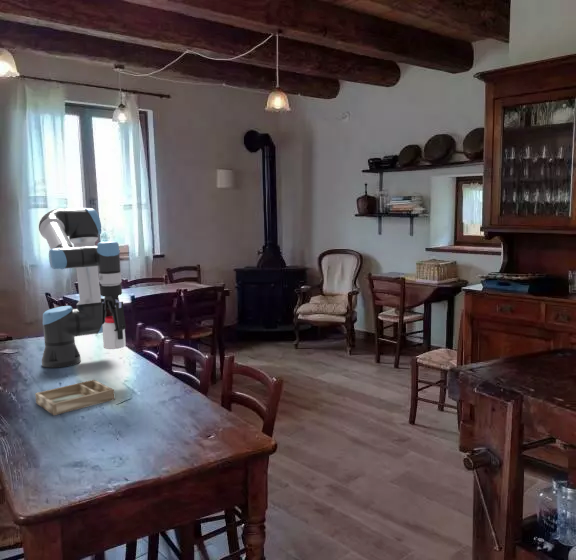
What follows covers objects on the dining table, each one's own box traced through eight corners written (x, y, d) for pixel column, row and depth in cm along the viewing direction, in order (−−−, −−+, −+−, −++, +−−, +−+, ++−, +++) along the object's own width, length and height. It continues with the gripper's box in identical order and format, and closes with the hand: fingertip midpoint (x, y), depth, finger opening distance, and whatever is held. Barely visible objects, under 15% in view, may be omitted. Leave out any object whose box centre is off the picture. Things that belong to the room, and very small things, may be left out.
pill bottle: (99, 347, 207) (97, 318, 205) (114, 342, 214) (112, 314, 212) (114, 350, 203) (112, 320, 202) (130, 345, 210) (128, 315, 208)
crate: (36, 403, 188) (35, 393, 187) (94, 389, 201) (93, 379, 200) (53, 415, 176) (52, 404, 175) (114, 399, 189) (113, 389, 189)
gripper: (88, 282, 210) (93, 342, 213) (113, 288, 195) (117, 352, 198) (108, 280, 215) (112, 339, 218) (133, 286, 200) (137, 348, 203)
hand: (114, 345), depth 208 cm, fingers closed on pill bottle, 8 cm apart
